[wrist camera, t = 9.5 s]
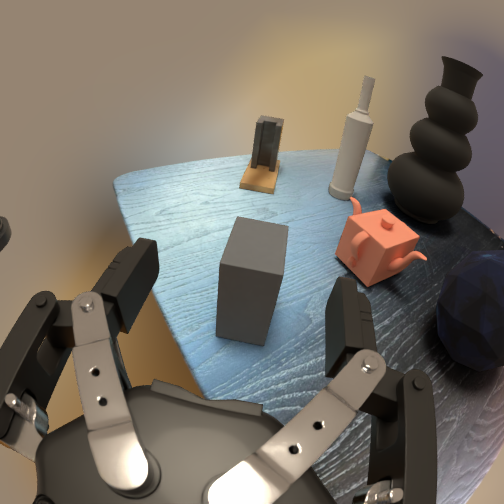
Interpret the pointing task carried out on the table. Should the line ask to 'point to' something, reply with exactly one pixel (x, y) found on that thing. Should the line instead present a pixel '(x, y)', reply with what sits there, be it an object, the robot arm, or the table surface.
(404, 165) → the vase
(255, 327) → the grey rectangular block
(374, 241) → the teapot
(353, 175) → the bottle
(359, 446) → the table surface
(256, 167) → the stand
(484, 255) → the decorative orb
